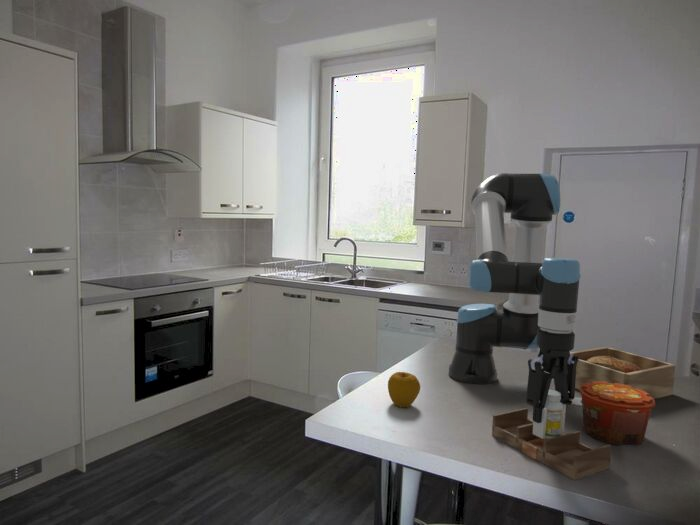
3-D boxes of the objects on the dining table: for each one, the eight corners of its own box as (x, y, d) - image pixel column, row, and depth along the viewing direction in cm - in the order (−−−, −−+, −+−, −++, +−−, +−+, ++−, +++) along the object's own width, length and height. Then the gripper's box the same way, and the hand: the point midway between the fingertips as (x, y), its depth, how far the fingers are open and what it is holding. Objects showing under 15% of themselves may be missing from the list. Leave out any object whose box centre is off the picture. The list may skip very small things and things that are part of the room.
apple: (422, 402, 134) (424, 371, 133) (413, 413, 126) (415, 380, 125) (393, 397, 138) (394, 366, 137) (382, 407, 130) (383, 374, 129)
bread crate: (556, 381, 156) (558, 354, 155) (604, 372, 168) (606, 346, 167) (625, 406, 137) (627, 375, 136) (673, 394, 149) (676, 365, 148)
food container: (616, 419, 128) (620, 379, 127) (668, 447, 112) (672, 402, 111) (562, 422, 124) (565, 381, 123) (608, 452, 109) (612, 405, 108)
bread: (567, 383, 154) (569, 352, 153) (590, 373, 166) (593, 344, 165) (639, 403, 139) (642, 369, 138) (659, 390, 151) (662, 358, 150)
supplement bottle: (556, 442, 104) (559, 398, 103) (531, 434, 108) (534, 392, 107) (564, 434, 108) (567, 392, 107) (539, 427, 112) (543, 386, 111)
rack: (491, 435, 115) (492, 415, 115) (524, 426, 120) (526, 407, 120) (573, 480, 96) (575, 456, 95) (609, 468, 101) (611, 445, 101)
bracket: (598, 411, 134) (599, 399, 133) (559, 402, 139) (560, 391, 139) (601, 404, 139) (602, 392, 139) (563, 396, 144) (564, 384, 144)
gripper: (541, 337, 98) (533, 448, 100) (598, 330, 107) (590, 432, 109) (512, 329, 105) (505, 434, 107) (568, 323, 114) (561, 420, 116)
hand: (548, 433), depth 108 cm, fingers closed on supplement bottle, 5 cm apart
